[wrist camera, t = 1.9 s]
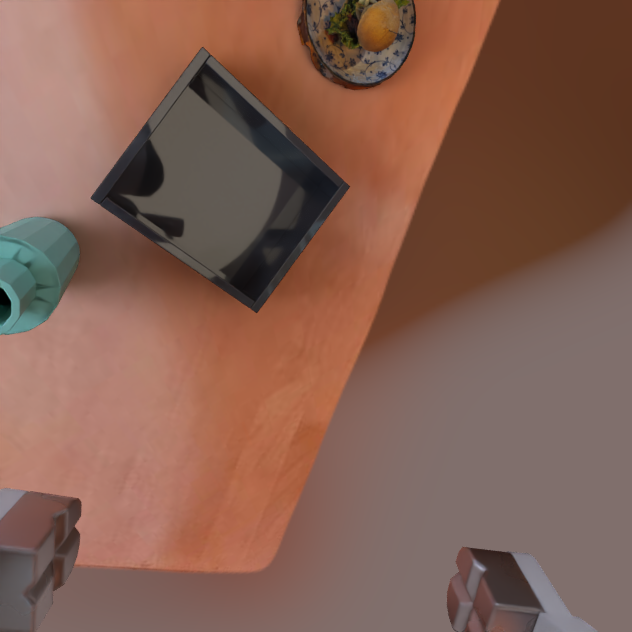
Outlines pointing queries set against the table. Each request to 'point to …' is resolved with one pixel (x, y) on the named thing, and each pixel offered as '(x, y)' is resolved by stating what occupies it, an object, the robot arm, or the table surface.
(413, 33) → the plate with bun salad
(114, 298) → the table surface
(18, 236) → the bottle
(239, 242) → the dark open tray box
